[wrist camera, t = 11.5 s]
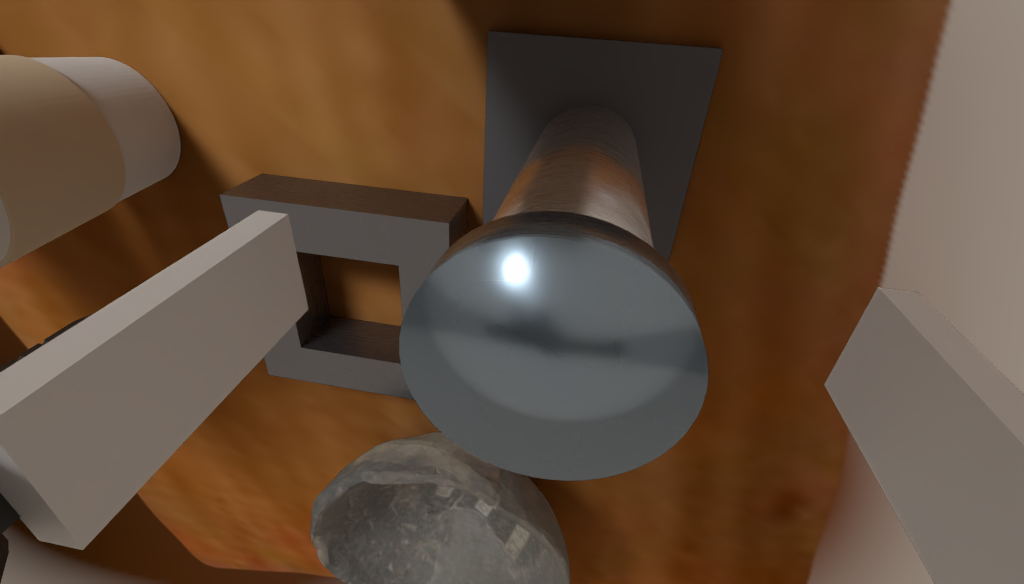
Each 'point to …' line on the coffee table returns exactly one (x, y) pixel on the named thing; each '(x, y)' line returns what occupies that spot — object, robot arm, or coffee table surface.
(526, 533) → the bowl
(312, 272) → the frame
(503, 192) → the mat
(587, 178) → the silver domed cylinder
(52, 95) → the coffee cup
